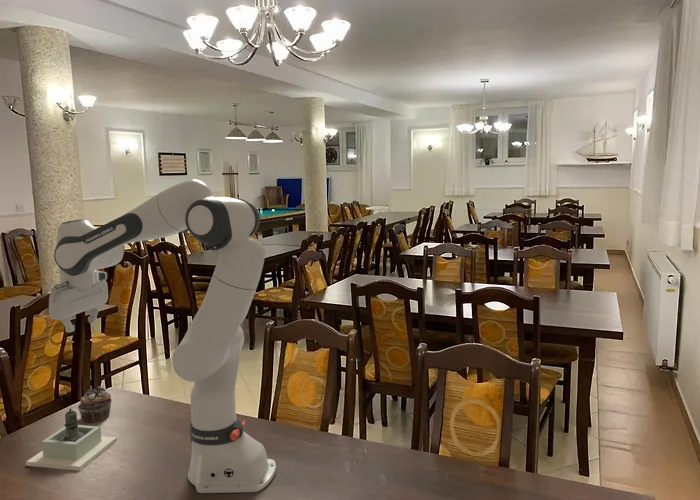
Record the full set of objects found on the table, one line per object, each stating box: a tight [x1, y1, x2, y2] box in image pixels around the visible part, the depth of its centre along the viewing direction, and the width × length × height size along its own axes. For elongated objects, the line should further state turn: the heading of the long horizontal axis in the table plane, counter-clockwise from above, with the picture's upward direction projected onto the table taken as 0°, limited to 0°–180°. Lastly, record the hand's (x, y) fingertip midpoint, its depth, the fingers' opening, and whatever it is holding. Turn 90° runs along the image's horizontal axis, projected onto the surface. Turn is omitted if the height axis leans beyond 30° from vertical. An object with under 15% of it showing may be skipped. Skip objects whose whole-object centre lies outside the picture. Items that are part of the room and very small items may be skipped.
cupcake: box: [77, 385, 113, 425], centre depth 171 cm, size 10×10×10 cm
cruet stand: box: [25, 424, 117, 472], centre depth 149 cm, size 16×16×6 cm
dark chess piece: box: [61, 407, 84, 442], centre depth 149 cm, size 6×6×12 cm
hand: (81, 326), depth 150 cm, fingers open, 8 cm apart
